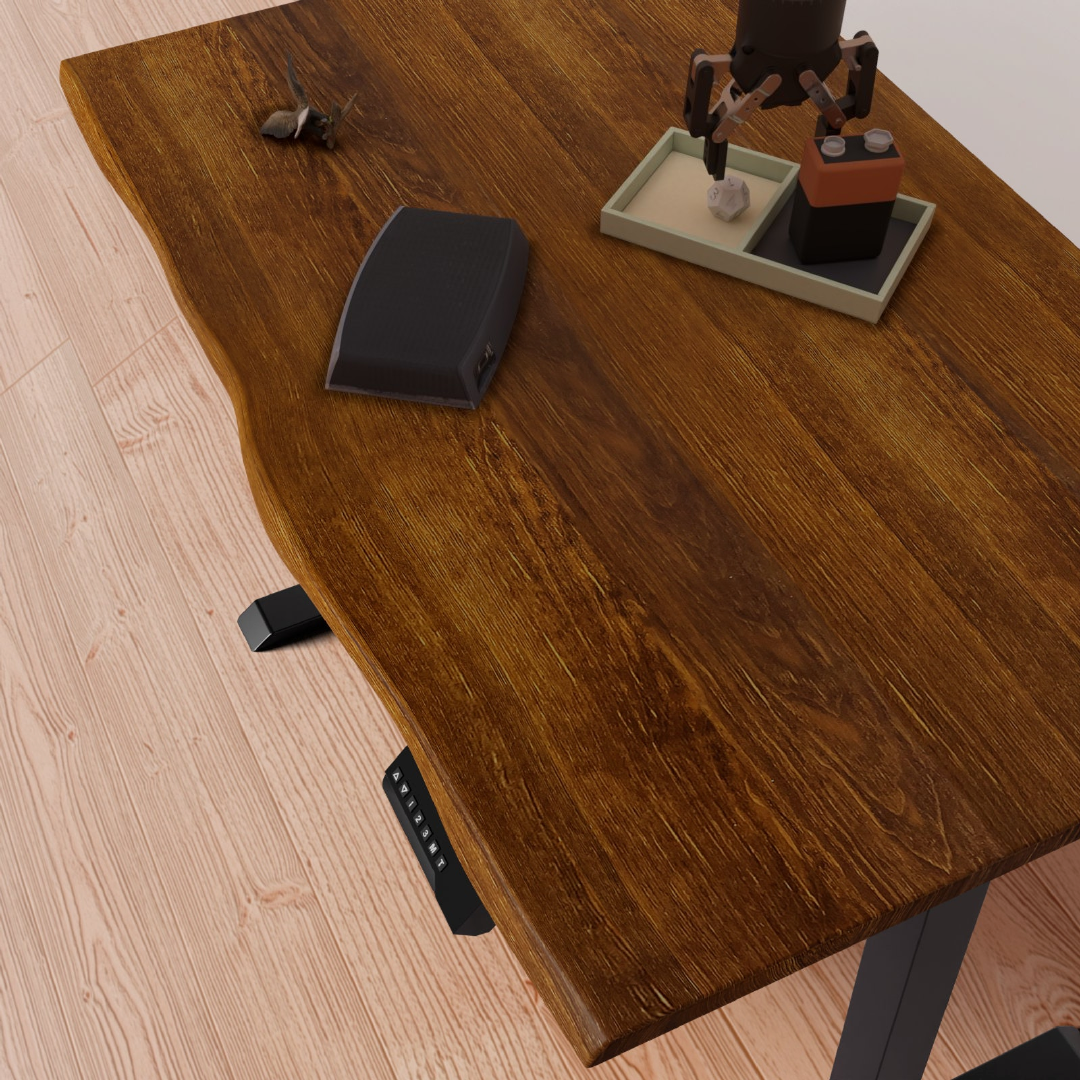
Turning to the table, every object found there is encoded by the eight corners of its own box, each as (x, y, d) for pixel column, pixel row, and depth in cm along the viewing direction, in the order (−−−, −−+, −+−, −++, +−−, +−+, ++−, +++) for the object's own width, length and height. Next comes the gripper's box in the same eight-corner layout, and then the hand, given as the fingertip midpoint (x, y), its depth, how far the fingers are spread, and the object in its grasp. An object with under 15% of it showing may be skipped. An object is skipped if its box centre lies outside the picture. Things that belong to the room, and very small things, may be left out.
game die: (745, 199, 99) (749, 169, 97) (750, 226, 97) (754, 196, 94) (703, 200, 99) (707, 169, 97) (707, 227, 97) (711, 197, 94)
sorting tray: (928, 232, 98) (937, 204, 95) (874, 329, 90) (882, 301, 88) (668, 153, 105) (671, 125, 103) (599, 237, 98) (600, 210, 95)
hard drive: (315, 393, 87) (306, 353, 84) (388, 232, 98) (382, 191, 95) (485, 417, 85) (482, 377, 82) (539, 251, 97) (538, 209, 93)
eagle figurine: (375, 114, 107) (302, 67, 109) (346, 77, 100) (268, 28, 102) (328, 183, 108) (256, 135, 110) (296, 151, 101) (220, 101, 103)
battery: (881, 259, 94) (911, 150, 86) (799, 267, 93) (821, 159, 86) (865, 225, 97) (893, 117, 89) (785, 233, 96) (806, 125, 88)
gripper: (710, 7, 78) (692, 208, 91) (913, -16, 79) (868, 186, 92) (684, -46, 83) (671, 152, 96) (877, -67, 84) (839, 132, 97)
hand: (768, 169), depth 94 cm, fingers open, 8 cm apart
